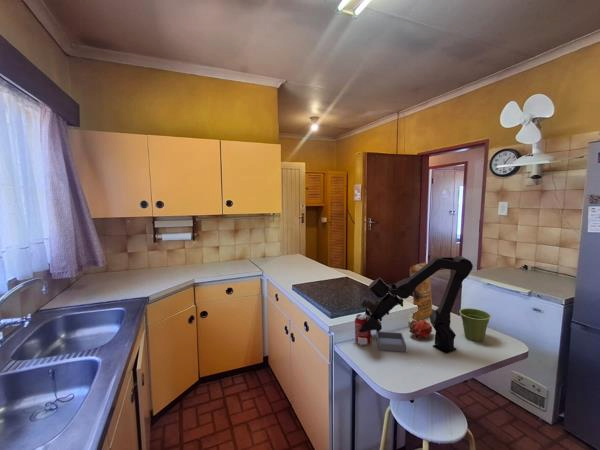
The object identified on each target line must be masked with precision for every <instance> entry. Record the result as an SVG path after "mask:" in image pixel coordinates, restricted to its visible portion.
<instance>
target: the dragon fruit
mask: <svg viewBox="0 0 600 450" xmlns="http://www.w3.org/2000/svg"><path fill="white" fill-rule="evenodd" d="M432 332H433V326H432V324H431V322H427V321H426V320H425V319H421V320H414V319H413V320H411V322H410V324H409V333H410V334H411V335H412V337H416V338H420V339H423V340H424V339H426V338H429V336H430V335H431V334H432Z"/></svg>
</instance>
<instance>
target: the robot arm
mask: <svg viewBox="0 0 600 450" xmlns="http://www.w3.org/2000/svg"><path fill="white" fill-rule="evenodd" d="M473 268H474V265H473V263H472V261H471V260H469V259H467V258H466V257H464V256H461V255H456V256H455V257H450V256H446V257H445V256H444V257H441V256H435V257H434V258H432V260H430V261H429V262H427V265H425V266H424V267H423V268H421V269H420V270H419V271H417V272H416V273H415V274H413V275H412V276H411V277H410V276H408V277H405V278H402V279H401V280H398V281H397V282H396V283H390V284H389V283H388V284H387V283H386V282H384V280H383V279H382V278H381V277H378V278H377V279H375V280H373V281H371V283H370V284H369V285H368V287H367V288H368V290H369V291H371V292H372V293H373V295H375V296H376V297H377V298H378V299H377V300H376V301H375V300H373V299H371V298H369V297H367V296H363V297H362V298H361V301H360V306H361V307H362V308H364V312H365V313H364V314H366V315H368V317H366V322H365V324H364V325H363V326H362V327H361V328H360V330H359V332H360V333H362V332H366V331H371V332H372V331H377V332H379V331H381V330H382V329H383V327H382V321H383V318H384V317H385V316H386V315H387V316H388V315H390V312H391V310H393V309H394V308H395V307H396V306H397V305H398V304H399V306H401V307H402V308H403V307H404V299H405V300H406V299H408V298H410V296H411V295H413V292H414V290H415V289H416V287H417V286H418V285H419V284H421V283H422V282H423V281H425V280H426V279H427V278H429V277H430V278H431V276H433V275H434V274H436V273H437V272H438V271H440V270H441V269H445V270H449V271H450V272H449V274H450V276H449V278H448V279H449V280H448V281H447V284H446V287H445V290H444V292H443V294H442V295H443V296H442V298H441V300H440V303H439V305H438V308H436V309H433V308H432V313H431V315H430V316H428V318H429V323H430V325H431V326H432V328H433V329H434V330H435V333H434V344H433V345H432V347H433V348H435V349H436V350H437V351H440V352H441V353H444V354H446V355H447V354H450V353H452V352H455V351H457V348H456V347H455V338H456V336H457V334H456V333H455V331H454V330H453V329H452V328H451V312H452V310H453V307H454V306H455V302H456V299H457V297H458V294H459V292H460V289H461V286H462V284H463V281H465V279H467V277H468V276H469V275H470V273H471V272H472V270H473ZM379 298H380V300H379Z"/></svg>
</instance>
